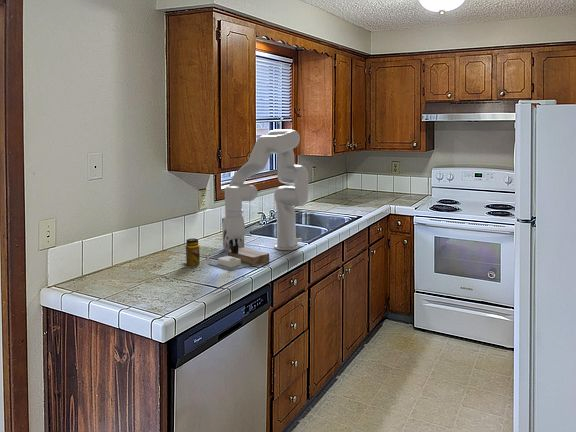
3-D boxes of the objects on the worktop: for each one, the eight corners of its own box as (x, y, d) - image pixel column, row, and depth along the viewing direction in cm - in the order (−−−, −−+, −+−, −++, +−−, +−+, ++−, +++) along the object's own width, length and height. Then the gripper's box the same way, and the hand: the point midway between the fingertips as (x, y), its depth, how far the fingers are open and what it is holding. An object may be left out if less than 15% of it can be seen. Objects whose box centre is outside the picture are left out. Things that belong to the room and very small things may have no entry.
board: (244, 255, 265) (243, 247, 264) (269, 261, 253) (269, 253, 252) (227, 259, 258) (227, 250, 258) (253, 266, 246) (252, 257, 245)
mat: (228, 259, 257) (228, 258, 257) (250, 265, 246) (250, 264, 246) (208, 264, 249) (208, 263, 249) (230, 271, 238) (230, 270, 238)
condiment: (201, 266, 246) (200, 240, 244) (182, 268, 244) (181, 241, 242) (200, 262, 253) (199, 237, 251) (181, 263, 251) (180, 238, 249)
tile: (217, 258, 248) (218, 263, 249) (230, 261, 242) (230, 267, 242) (228, 255, 252) (228, 261, 253) (240, 259, 246) (240, 264, 247)
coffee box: (238, 246, 284) (237, 216, 281) (244, 248, 279) (243, 217, 276) (222, 249, 278) (221, 218, 275) (229, 251, 273) (228, 219, 270)
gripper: (241, 210, 254) (242, 249, 257) (215, 215, 243) (216, 255, 246) (251, 212, 248) (252, 251, 252) (225, 217, 238) (227, 257, 241)
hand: (234, 253), depth 249 cm, fingers closed
